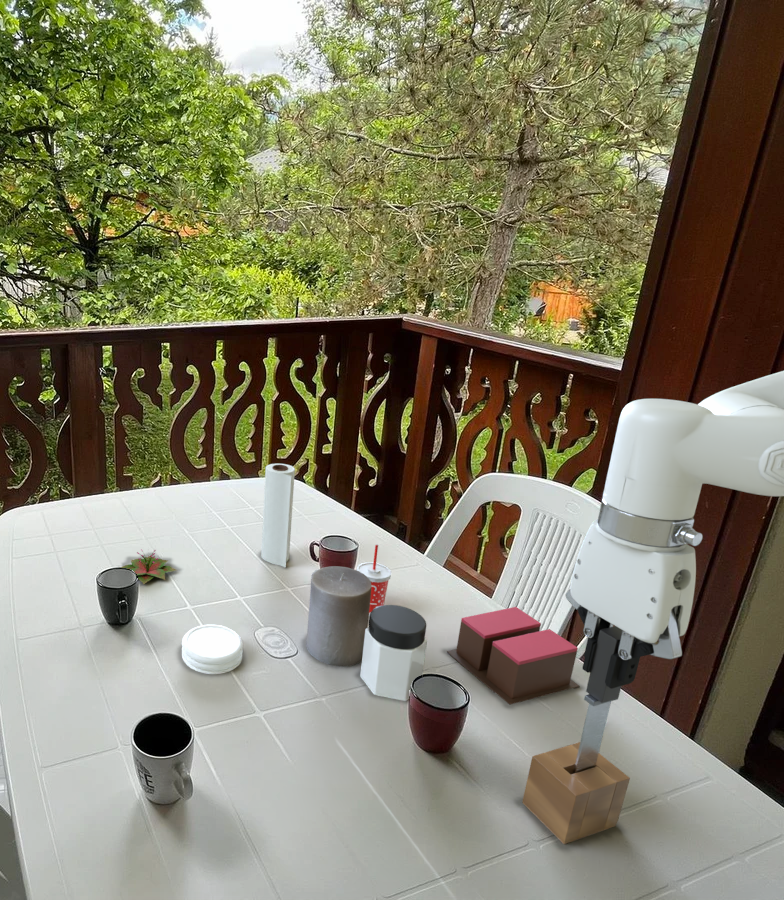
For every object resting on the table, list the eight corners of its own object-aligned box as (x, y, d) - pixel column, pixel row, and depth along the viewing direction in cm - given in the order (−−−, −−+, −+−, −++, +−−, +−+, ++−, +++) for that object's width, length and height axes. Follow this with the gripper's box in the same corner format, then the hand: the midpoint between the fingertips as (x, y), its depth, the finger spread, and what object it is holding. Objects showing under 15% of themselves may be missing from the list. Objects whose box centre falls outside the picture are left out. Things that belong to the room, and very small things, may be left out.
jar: (381, 661, 105) (388, 597, 101) (427, 685, 99) (438, 618, 95) (350, 685, 99) (357, 618, 95) (398, 712, 93) (407, 642, 89)
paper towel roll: (263, 551, 142) (268, 461, 135) (291, 555, 140) (297, 464, 133) (257, 566, 135) (261, 471, 128) (285, 571, 133) (291, 475, 127)
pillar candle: (369, 644, 109) (378, 566, 104) (356, 677, 101) (365, 594, 96) (314, 629, 113) (320, 553, 108) (297, 659, 105) (303, 579, 100)
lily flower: (142, 593, 124) (141, 572, 123) (107, 570, 133) (106, 550, 132) (188, 573, 132) (188, 553, 131) (152, 553, 141) (152, 534, 139)
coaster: (188, 681, 99) (188, 662, 98) (176, 644, 109) (176, 626, 108) (249, 674, 101) (250, 655, 100) (233, 637, 111) (233, 620, 110)
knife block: (570, 791, 80) (583, 740, 77) (614, 831, 74) (630, 778, 72) (520, 808, 78) (532, 755, 75) (562, 850, 72) (576, 795, 70)
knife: (588, 761, 75) (620, 624, 69) (603, 773, 73) (638, 634, 67) (564, 768, 74) (595, 630, 68) (579, 781, 72) (612, 641, 66)
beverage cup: (345, 610, 119) (351, 542, 115) (367, 600, 122) (374, 534, 118) (370, 626, 114) (378, 556, 110) (393, 615, 118) (401, 547, 113)
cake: (510, 641, 110) (517, 602, 108) (578, 691, 98) (588, 649, 96) (445, 655, 106) (451, 616, 104) (508, 710, 94) (517, 666, 92)
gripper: (757, 551, 58) (707, 717, 63) (599, 490, 72) (570, 630, 78) (698, 564, 56) (652, 735, 61) (548, 498, 70) (521, 642, 76)
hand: (606, 675), depth 70 cm, fingers closed on knife, 2 cm apart
